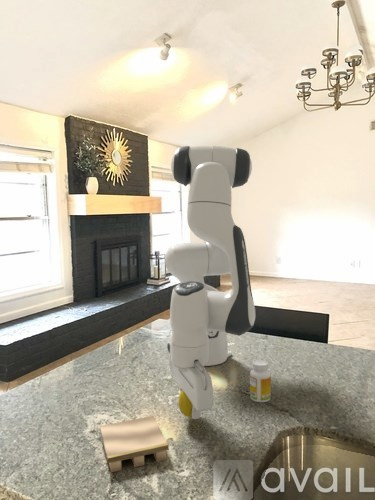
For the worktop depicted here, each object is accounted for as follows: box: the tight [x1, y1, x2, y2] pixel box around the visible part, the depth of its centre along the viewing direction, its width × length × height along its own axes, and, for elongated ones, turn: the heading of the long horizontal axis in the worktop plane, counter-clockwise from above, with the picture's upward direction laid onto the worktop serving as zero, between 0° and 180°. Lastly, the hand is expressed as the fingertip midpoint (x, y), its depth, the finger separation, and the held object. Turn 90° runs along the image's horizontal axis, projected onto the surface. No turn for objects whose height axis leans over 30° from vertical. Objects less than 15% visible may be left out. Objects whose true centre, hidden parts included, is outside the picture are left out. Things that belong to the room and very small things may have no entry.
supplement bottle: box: [249, 359, 272, 403], centre depth 103 cm, size 5×5×10 cm
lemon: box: [178, 390, 193, 419], centre depth 92 cm, size 6×6×8 cm
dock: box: [99, 415, 170, 473], centre depth 82 cm, size 12×12×3 cm
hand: (190, 409), depth 92 cm, fingers closed on lemon, 5 cm apart
